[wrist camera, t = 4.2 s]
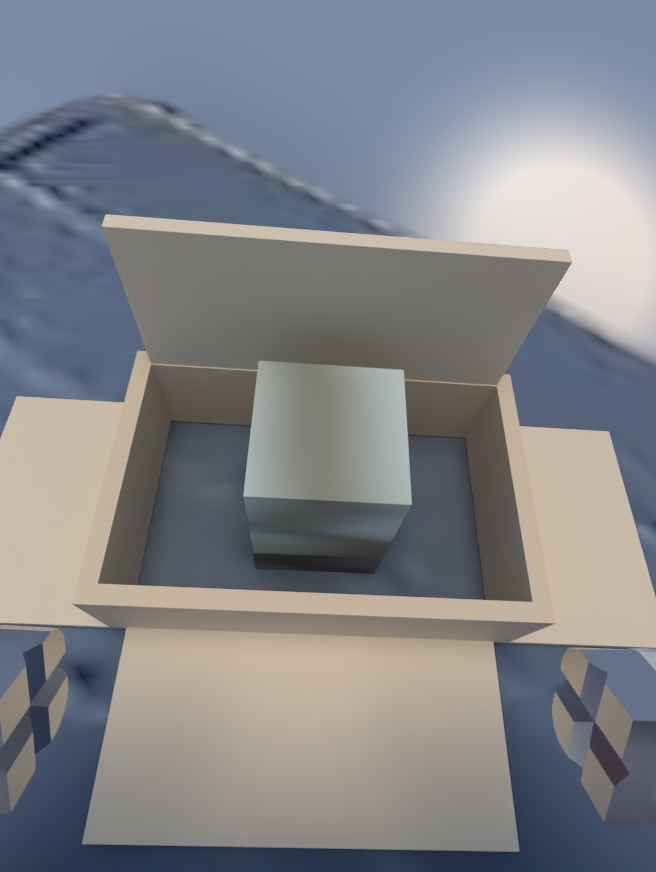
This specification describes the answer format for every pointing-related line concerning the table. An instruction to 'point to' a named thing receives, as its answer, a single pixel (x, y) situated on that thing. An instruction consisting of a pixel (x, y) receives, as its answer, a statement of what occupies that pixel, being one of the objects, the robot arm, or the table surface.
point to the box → (326, 466)
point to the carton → (300, 611)
